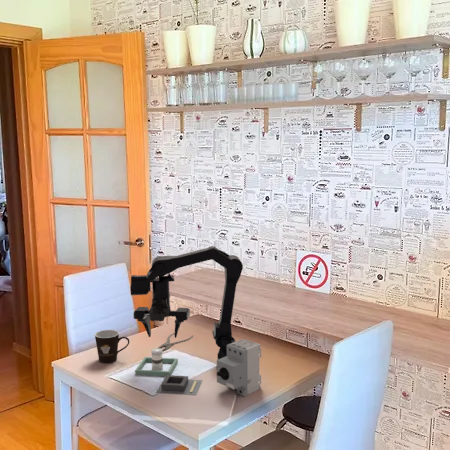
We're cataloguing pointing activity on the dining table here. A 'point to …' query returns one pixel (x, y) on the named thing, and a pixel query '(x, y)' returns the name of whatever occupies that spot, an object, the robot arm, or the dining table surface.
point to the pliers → (168, 344)
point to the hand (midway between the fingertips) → (162, 337)
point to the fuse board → (179, 385)
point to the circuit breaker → (240, 367)
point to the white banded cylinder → (157, 359)
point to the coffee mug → (108, 345)
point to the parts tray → (156, 373)
